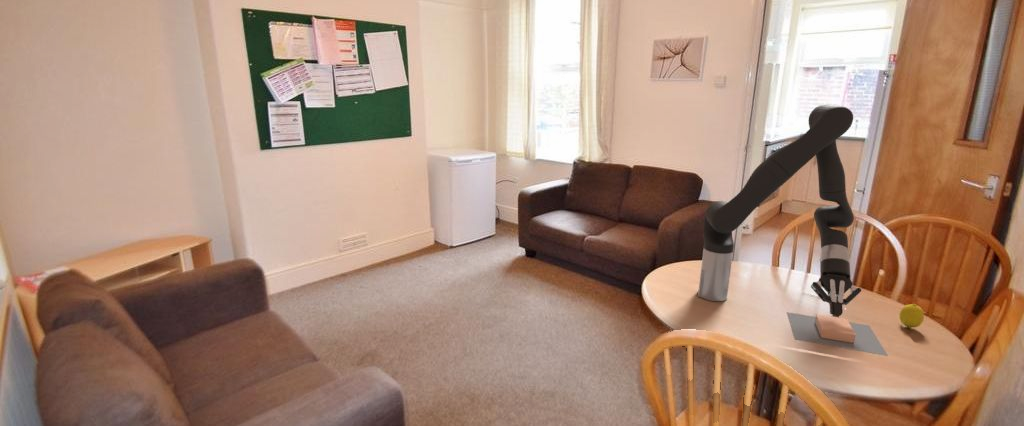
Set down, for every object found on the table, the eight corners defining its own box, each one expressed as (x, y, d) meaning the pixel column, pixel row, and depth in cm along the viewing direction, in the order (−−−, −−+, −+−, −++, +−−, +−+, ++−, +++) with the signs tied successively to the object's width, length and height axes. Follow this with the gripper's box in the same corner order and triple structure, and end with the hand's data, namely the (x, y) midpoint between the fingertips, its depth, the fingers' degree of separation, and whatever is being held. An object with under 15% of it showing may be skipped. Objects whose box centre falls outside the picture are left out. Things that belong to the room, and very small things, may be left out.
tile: (814, 322, 145) (820, 338, 136) (816, 314, 144) (822, 329, 136) (845, 327, 142) (853, 343, 133) (847, 319, 141) (855, 334, 133)
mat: (794, 341, 136) (794, 339, 136) (786, 313, 152) (786, 312, 152) (887, 357, 128) (888, 355, 128) (868, 327, 144) (869, 325, 144)
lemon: (914, 334, 140) (921, 309, 137) (893, 326, 144) (899, 302, 142) (924, 330, 142) (930, 305, 140) (902, 322, 147) (908, 298, 145)
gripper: (812, 254, 145) (813, 307, 138) (864, 260, 140) (868, 316, 133) (807, 264, 151) (807, 316, 144) (856, 270, 146) (859, 324, 139)
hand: (836, 316), depth 138 cm, fingers closed
